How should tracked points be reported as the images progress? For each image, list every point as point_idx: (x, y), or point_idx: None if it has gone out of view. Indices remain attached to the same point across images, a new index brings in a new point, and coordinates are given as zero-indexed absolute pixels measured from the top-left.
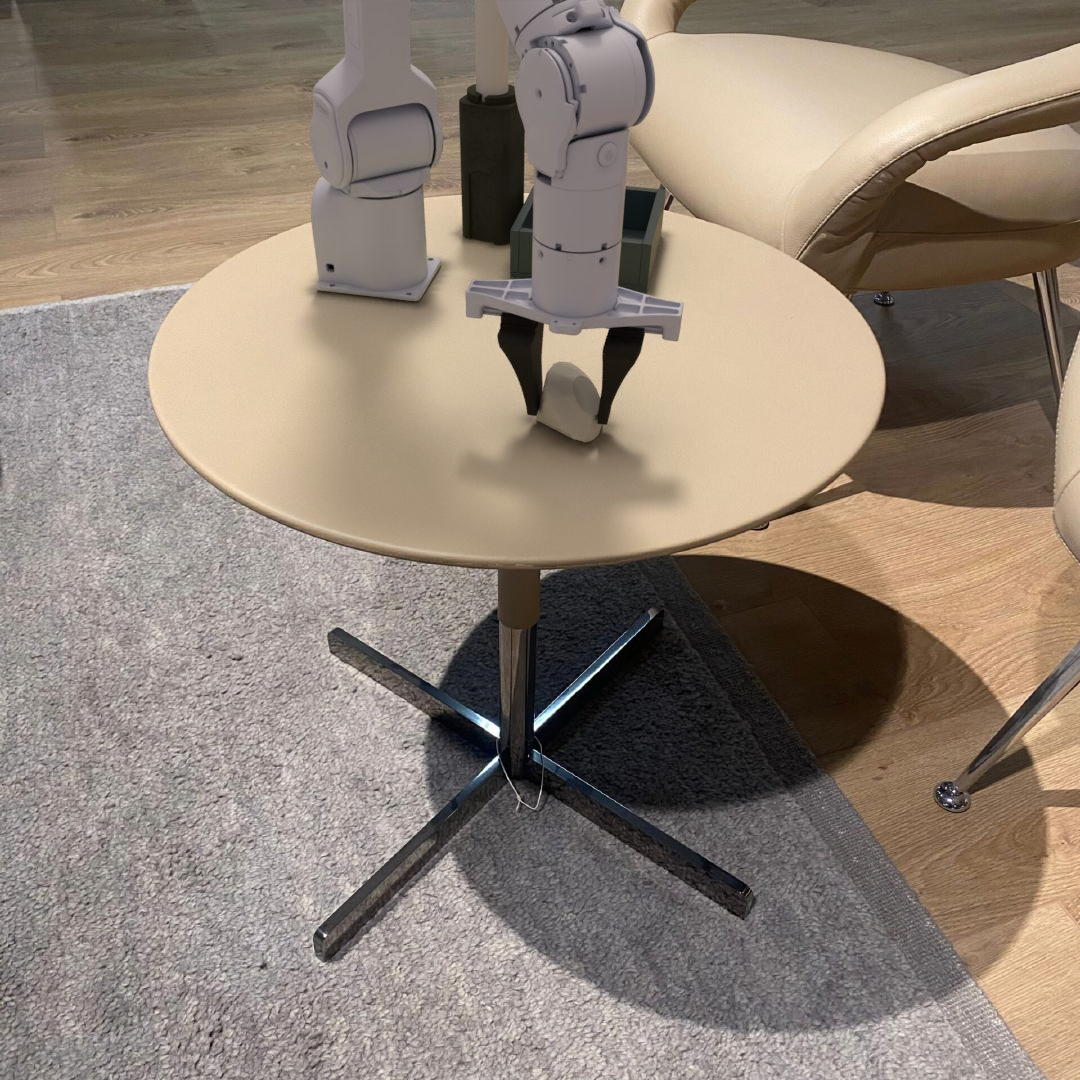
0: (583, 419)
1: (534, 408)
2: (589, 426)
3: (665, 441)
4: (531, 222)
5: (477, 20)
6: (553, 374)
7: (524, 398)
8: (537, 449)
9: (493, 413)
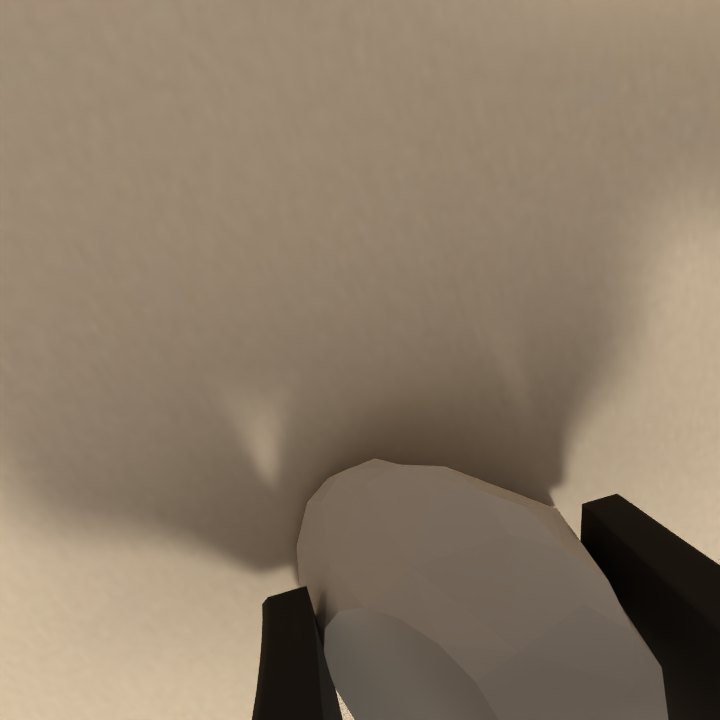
0: (370, 571)
1: (617, 527)
2: (332, 554)
3: (16, 641)
4: None
5: None
6: None
7: (696, 550)
8: (509, 359)
9: (710, 467)
